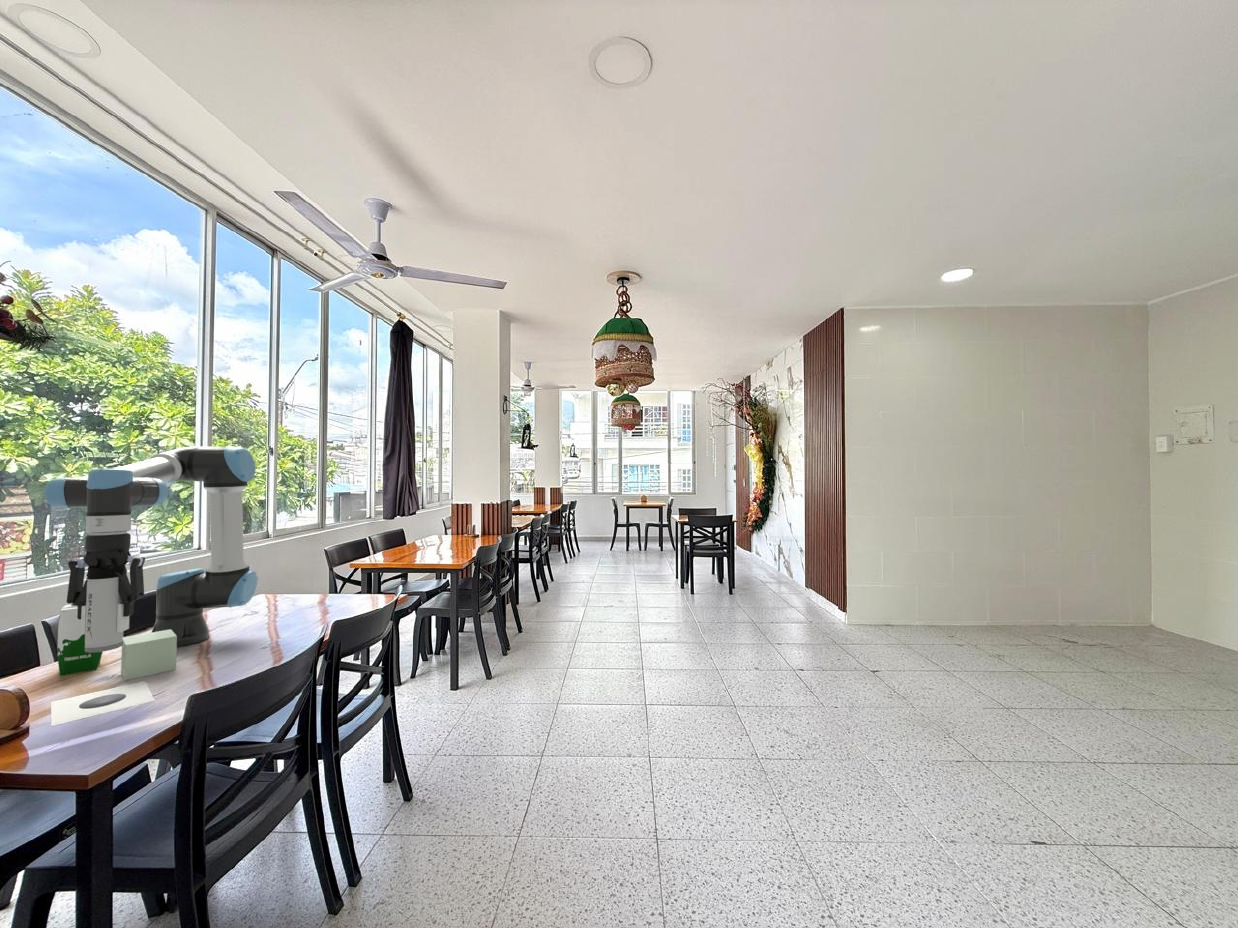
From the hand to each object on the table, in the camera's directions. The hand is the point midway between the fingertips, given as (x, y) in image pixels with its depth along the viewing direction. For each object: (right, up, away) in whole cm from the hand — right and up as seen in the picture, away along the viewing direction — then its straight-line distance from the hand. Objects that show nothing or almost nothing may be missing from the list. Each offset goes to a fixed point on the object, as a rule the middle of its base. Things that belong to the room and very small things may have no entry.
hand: (105, 631), depth 116 cm
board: (0, -17, -1) cm, 17 cm away
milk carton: (-31, -19, +23) cm, 42 cm away
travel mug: (0, -4, 0) cm, 4 cm away
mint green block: (-8, -18, +19) cm, 27 cm away
